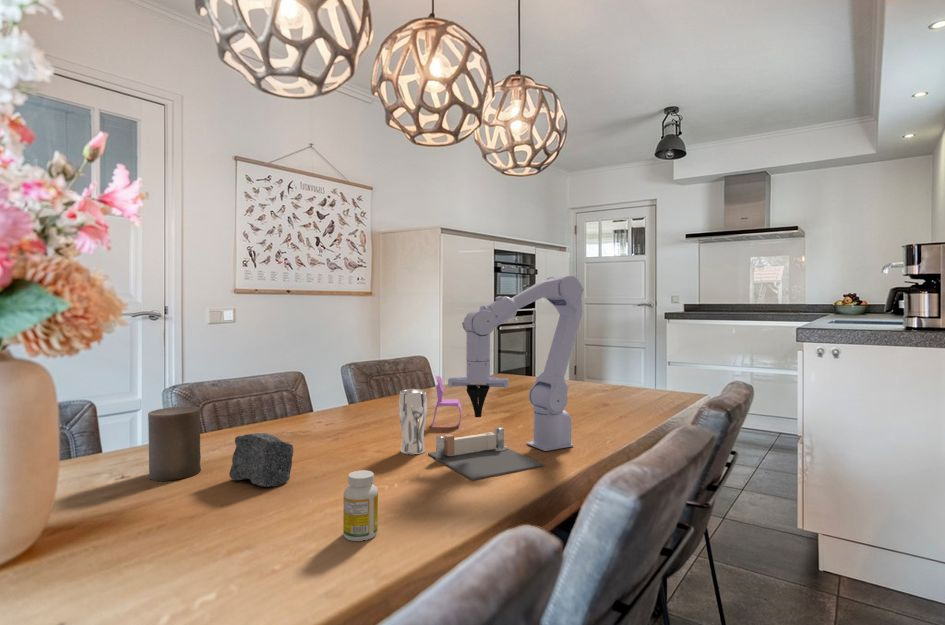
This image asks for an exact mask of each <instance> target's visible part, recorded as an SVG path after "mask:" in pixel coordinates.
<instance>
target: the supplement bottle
mask: <svg viewBox="0 0 945 625" xmlns="http://www.w3.org/2000/svg"><path fill="white" fill-rule="evenodd" d="M347 478H348V479H347V483H348V486H347V487H346V488H345V489H344V491H343V517H342V518H343V520H342V521H343V529H342V530H343V533H342V534H343V537H344V538H345V539H346V540H348V541H351V542H364V541H363V540H365V541H368V539H369V540H370V539H373V538H374V537H375V536H376V535H377V534H378V526H379V525H378V524H379V523H378V520H379V518H378V516H379V514H378V512H379V489H378V487H377V486H376V485H374V481H375V473H374V472H373V471H371V470H363V469H362V470H361V469H360V470H355V471H351V472H349V474H348V475H347Z"/></svg>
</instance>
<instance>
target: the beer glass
mask: <svg viewBox="0 0 945 625" xmlns="http://www.w3.org/2000/svg"><path fill="white" fill-rule="evenodd" d="M398 398H399V399H398V401H399V402H398V416H399V417H398V418H399V424H400V428H401V437H402V438H401V444H400V453H401V454H403V455H408V454H409V456H413V455H415V454H416V455H420V454H424V453H425V452H426V445H425V437H424V436H425V428H426V422H427V417H428V416H427V415H428V397H427V390H426V389H421V388H408V389H407V388H406V389H402V390H399V397H398Z"/></svg>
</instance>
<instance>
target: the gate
mask: <svg viewBox="0 0 945 625" xmlns="http://www.w3.org/2000/svg"><path fill="white" fill-rule="evenodd" d="M443 436H444V437H445V455H447V456H450V455H456V454H462V453H468V452H474V451H480V450H486V449H487V450H490V449H496V434H494V432H491V431H490V432H483V433H480V434H473V435H472V434H471V435H465V436H459V437H455V435H453V434H452V433H448V434H443Z"/></svg>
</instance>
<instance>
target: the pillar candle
mask: <svg viewBox="0 0 945 625" xmlns="http://www.w3.org/2000/svg"><path fill="white" fill-rule="evenodd" d="M200 411H201V410H200V407H199V406H196V405H195V406H193V405H190V406H189V405H185V406H184V405H183V406H179V405H178V406H177V404H175V403H174V406H171V407H164V408H158V409H155V410H152V411H149V412H148V413H147V421H148V422H147V423H148V472H149V473H148V476H149V479H150V480H151V481H155V482H165V481H166V482H168V481H174V480H176V481H177V480H181V479H186V478H190V477H193V476H196V475H197V474H199V473H200V472H201V471H202V469H201V468H202V467H201V461H202V460H201V412H200Z"/></svg>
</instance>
